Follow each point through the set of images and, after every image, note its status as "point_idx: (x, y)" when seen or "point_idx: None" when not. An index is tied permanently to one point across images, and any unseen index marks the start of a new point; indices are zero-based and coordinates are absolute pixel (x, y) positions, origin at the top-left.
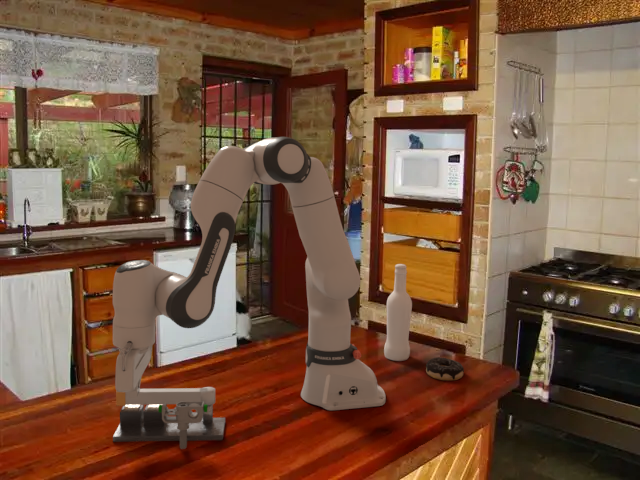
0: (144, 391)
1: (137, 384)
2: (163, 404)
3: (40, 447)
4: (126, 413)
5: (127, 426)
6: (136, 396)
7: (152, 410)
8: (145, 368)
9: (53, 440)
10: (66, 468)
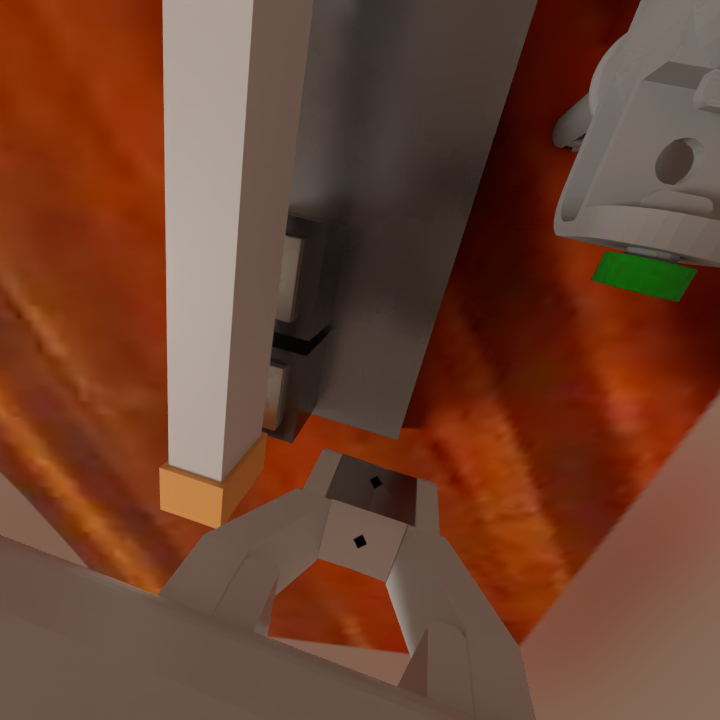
0: (218, 372)
1: (460, 612)
2: (694, 247)
3: (375, 594)
4: (298, 413)
5: (321, 383)
6: (437, 492)
7: (298, 292)
8: (43, 573)
9: (340, 566)
10: (540, 561)
